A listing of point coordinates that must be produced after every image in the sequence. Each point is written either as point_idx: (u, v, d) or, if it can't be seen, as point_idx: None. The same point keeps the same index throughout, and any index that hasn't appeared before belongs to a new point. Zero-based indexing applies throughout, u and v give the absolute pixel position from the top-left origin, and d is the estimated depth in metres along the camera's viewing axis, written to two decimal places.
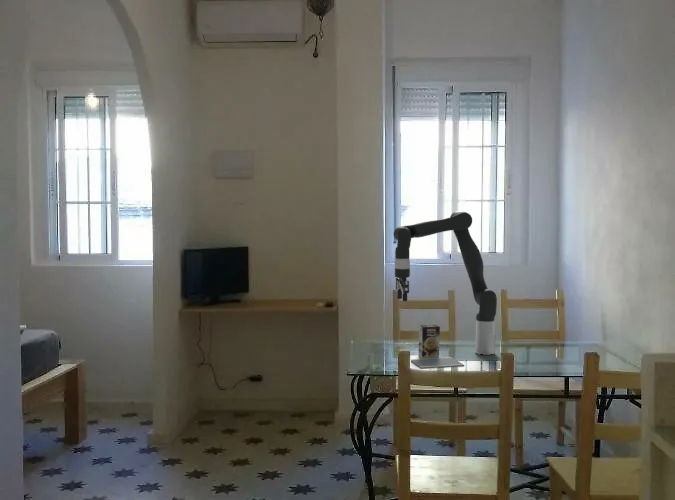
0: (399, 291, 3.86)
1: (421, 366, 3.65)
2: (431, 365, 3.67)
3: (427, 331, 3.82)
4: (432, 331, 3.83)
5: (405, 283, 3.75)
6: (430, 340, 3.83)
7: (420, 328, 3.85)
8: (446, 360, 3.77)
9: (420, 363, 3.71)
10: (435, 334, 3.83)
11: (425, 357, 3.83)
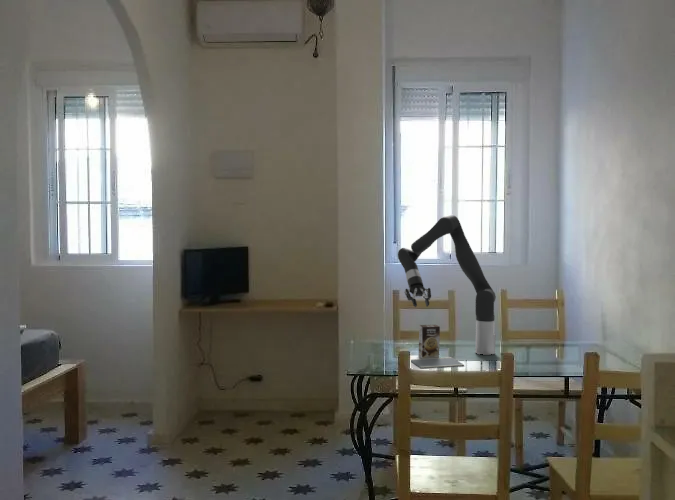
0: (425, 300, 3.98)
1: (421, 366, 3.65)
2: (431, 365, 3.67)
3: (427, 331, 3.82)
4: (432, 331, 3.83)
5: (405, 292, 4.00)
6: (430, 340, 3.83)
7: (420, 328, 3.85)
8: (446, 360, 3.77)
9: (420, 363, 3.71)
10: (435, 334, 3.83)
11: (425, 357, 3.83)
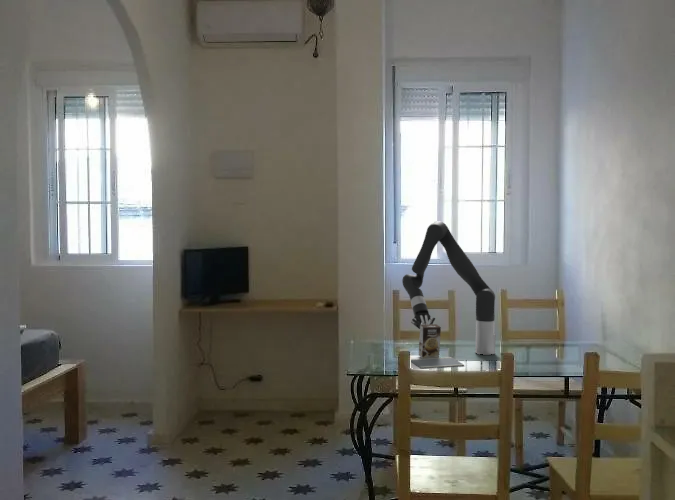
0: None
1: (421, 366, 3.65)
2: (431, 365, 3.67)
3: (428, 332, 3.81)
4: (433, 332, 3.81)
5: (413, 322, 3.92)
6: (430, 340, 3.82)
7: (421, 328, 3.84)
8: (446, 360, 3.77)
9: (420, 363, 3.71)
10: (436, 334, 3.82)
11: (425, 357, 3.83)
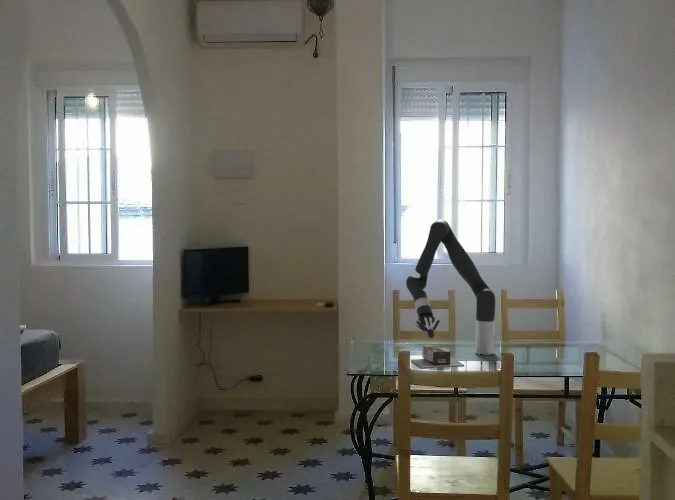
0: None
1: (421, 366, 3.65)
2: (431, 365, 3.67)
3: None
4: None
5: (417, 325, 3.86)
6: None
7: (431, 356, 3.68)
8: None
9: (420, 363, 3.71)
10: None
11: None
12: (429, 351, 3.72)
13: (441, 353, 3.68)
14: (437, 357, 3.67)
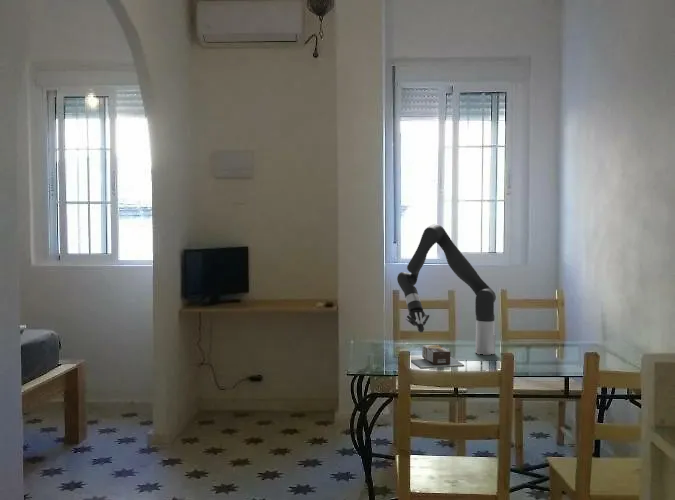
0: None
1: (421, 366, 3.65)
2: (431, 365, 3.67)
3: None
4: None
5: (407, 319, 4.00)
6: None
7: (431, 356, 3.68)
8: None
9: (420, 363, 3.71)
10: None
11: None
12: (429, 351, 3.72)
13: (441, 353, 3.68)
14: (437, 357, 3.67)
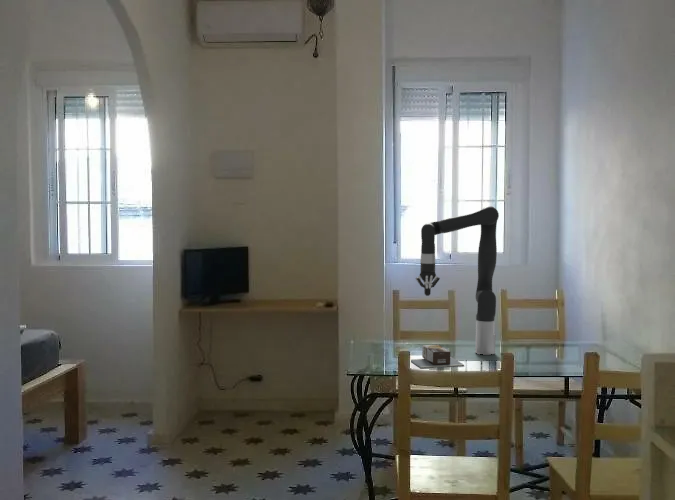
0: None
1: (421, 366, 3.65)
2: (431, 365, 3.67)
3: None
4: None
5: (417, 280, 3.97)
6: None
7: (431, 356, 3.68)
8: None
9: (420, 363, 3.71)
10: None
11: None
12: (429, 351, 3.72)
13: (441, 353, 3.68)
14: (437, 357, 3.67)
